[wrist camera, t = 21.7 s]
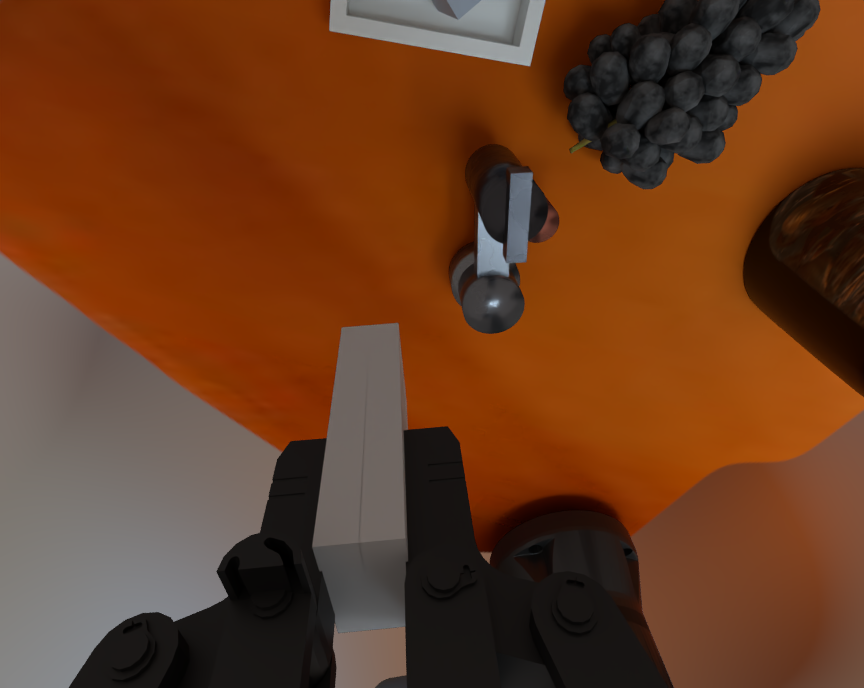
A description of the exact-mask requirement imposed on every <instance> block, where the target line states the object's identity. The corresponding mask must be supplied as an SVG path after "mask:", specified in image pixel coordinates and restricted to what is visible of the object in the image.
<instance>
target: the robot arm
mask: <svg viewBox="0 0 864 688" xmlns="http://www.w3.org/2000/svg"><path fill="white" fill-rule="evenodd" d="M217 574H218V576H219V578H220V580H221V581H222V584H223V586H224V588H225V590H226V592H227V594H228V597H227V598H225V599H224V600H223V601H221V602H219V603H217V604H215V605H213V606H211V607H209V608H207V609H204V610H202V611H199V612H197V613H195V614H192V615H190V616H187V617H185V618H182V619H180V620H178V621H175V622H173V620H172V619H171V617H168V616H166V615H164V614H161V613H159V612H155V613H142V614H139V615H137V616H134V617H132V618H130V619H127V620H125V621H123V622H122V623H121V624H119V625H118V626H116V627H115V628H114V629H113V630H111V631H110V632H108V634H107V635H106V636H105V637H104V638H103V639H102V641H101V642H100V643H99V644H98V645H97V646H96V648H95V649H94V650H93V652H92V653H91V655H90V656H89V658H88V659H87V661H86V663H85V664H84V665H83V667H82V668H81V670H80V671H79V673H78V674H77V676H76V678H75V679H74V680H73V682H72V683H71V685H70V687H69V688H335V678H336V661H335V654H334V651H333V635H334V624H336V628H337V631H338V633H345V632H355V631H366V630H376V629H387V628H397V627H405V628H406V668H407V669H406V670H407V675H406V676H400V677H394V678H389V679H386V680H384V681H382V682H381V683H379V684H378V685H377V686H376V687H375V688H674V687H673V685H672V682H671V680H670V677H669V675H668V673H667V670H666V668H665V665H664V663H663V661H662V658H661V656H660V653H659V651H658V649H657V646H656V644H655V641H654V639H653V637H652V634H651V632H650V630H649V627H648V625H647V622H646V620H645V617H644V615H643V611H642V600H641V588H640V575H639V563H638V556H637V552H636V549H635V546H634V544H633V542H632V540H631V537H630V535H629V533H628V531H627V529H626V528H625V527H624V525H622V524H621V523H620V522H619V521H618V520H616V519H614V518H612V517H610V516H608V515H605V514H602V513H598V512H593V511H583V510H571V511H561V512H555V513H550V514H546V515H543V516H539V517H537V518H534V519H531V520H529V521H527V522H525V523H523V524H521V525H519V526H517V527H516V528H514V529H513V530H511V531H510V532H508V533H507V534H506V535H505V536H504V537H503V538H502V539H501V540H500V541H499V542H498V543H497V545H496V546H495V548H494V550H493V552H492V554H491V557H490V564H489V563H488V562H487V561H486V560H485V559H484V558H483V557H482V555H481V553H480V552H479V550H478V548H477V545H476V542H475V538H474V531H473V525H472V519H471V512H470V506H469V500H468V493H467V487H466V481H465V474H464V468H463V462H462V455H461V449H460V443H459V441H458V440H457V438H456V437H455V436H454V434H453V433H452V432H451V430H450V429H449V428H448V426H447V427H435V428H424V429H412V430H408V424H407V402H406V392H405V382H404V372H403V363H402V353H401V344H400V334H399V324H398V323H392V324H379V325H367V326H355V327H342V330H341V338H340V345H339V353H338V360H337V367H336V375H335V382H334V389H333V397H332V404H331V411H330V419H329V426H328V434H327V438H324V439H312V440H301V441H291V442H290V443H289V444H288V446H287V447H286V448H285V450H284V451H283V452H282V454H281V455H280V456H279V458H278V459H277V463H276V467H275V471H274V475H273V483H272V484H271V488H270V492H269V500H268V501H267V505H266V510H265V514H264V518H263V522H262V527H261V531H260V533H258V534H254V535H251V536H249V537H247V538H246V539H244V540H242V541H240V542H239V543H237V544H236V545H235V546H234V547H233V548H232V549H231V550H230V551H229V552H228V553H227V554H226V555H225V556H224V557H223V560H222V561H221V564H220V566H219V568H218V570H217Z"/></svg>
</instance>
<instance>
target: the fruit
mask: <svg viewBox="0 0 864 688" xmlns="http://www.w3.org/2000/svg"><path fill="white" fill-rule="evenodd" d="M819 12H820V5H819V1H818V0H699V1H698V0H665V1H664V3H663V5H662V7H661V8H660V10H659V12H658V14H652V15H649V16H646V17H644V18H643V19H642V20H641V22H640V23H639V24H638V26H635V25H633V24H630V23H626V24H623V25H621V26H619V27H617V28H616V29H615V30H614V32H613V33H612V35H611V36H609V35H607V34H604V35H599V36H596V37H595V38H594V39H593V40H592V41H591V42H590V45H589V49H588V52H587V54H588V57H589V59H590V62H591V64H592V66H586V65H578V66H576V67H575V68H573V69H571V70H570V71H569V72H568V74H567V75H566V77H565V81H564V93H565V96H566V97H567V98H568V99H570V100H572V102H571V103H570V105H569V107H568V115H567V119H568V120H569V122H570V124H571V126H572V127H573V129H574V131H575V132H576V133H578V139H579V143H577V144H576V145H574V146H573V147H572V148H570V149H569V150H570V153H573V152H574V151H576V150H578V149H580V148H581V147H583V146H585V147H588V148H591V149H596V150H601V151H602V150H603V152H602V154H601V157H600V162H601V164H602V166H603V169H605V170H607V171H609V172H611V173H616V174H618V173H621V172H623V174H624V176H625V177H626V178H627V179H628V180H629V181H630V182H631V183H633V184H635V185H636V186H638V187H640V188H642V189H653V188H655V187H657V186H659V185H660V184H662V182H663V180H664V179H665V177H666V174H667V169H668V168H669V166H670V165H671V164H672V163H673V158H674V153H678V155H679V156H681V157H684V158H686V159H688V160H690V161H693V162H695V163H697V164H699V163H710V162H712V161H713V160H715V159H716V158H717V157H719V155H720V154H721V153H722V152H723V150H724V147H725V138H724V133H723V132H722V131H723V130H726V129H728V128H730V127H732V126H733V124H734V123H735V121H736V120H737V114H738V110H737V107H736V106H740V105H743V104H745V103H747V102H749V101H750V100H751V99H752V98H753V97H754V96H755V95H756V94H757V93H758V92H759V89H760V86H761V82H762V78H761V74H764V75H775V74H776V73H778V72H780V71H782V70H784V69H786V68H788V66H789V65H790V64H791V62H792V61H793V60H794V57H795V54H796V51H797V44H796V42H795V41H797V40H798V39H799V38H800V37H802V36H803V35H804V33H805V31H806V30H808V29H809V28H811V27H812V26H813V24H814V23H815V21H816V20H817V18H818V15H819ZM760 73H761V74H760ZM629 84H630V85H632V86H633V87H632V88H631V89H630V90H629Z"/></svg>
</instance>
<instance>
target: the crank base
mask: <svg viewBox="0 0 864 688" xmlns="http://www.w3.org/2000/svg"><path fill="white" fill-rule="evenodd" d="M546 199H547V198H546ZM547 203H548V216H547V220H546V222H545V224H544V226H543V228H542V229H541V231H540V232H539V233H538V234H537V235H536V236H535V237H533V238H532V239H530V240H529V241H530V242H534V243H539V242H543V241H546V240H547V239H549V238H550V237H552V236H553V235H554V233H555V232H556V230H557V228H558V225H559V216H558V213H557V211H556V210H555V209H554V207H553V206H552V205H551V203H550V202H549V201H548V199H547ZM473 263H474V242H472V243H469V244H467V245H466V246H464V247H462V248H461V249H460V250H459V251H458V252H457V253H456V254H455V256H454V257H453V259H452V261H451V263H450V267H449V278H450V283H451V288H452V292H453V295H454V297H455V299H456V301H457V302H458V303H459V304H460V305H461V301H460V297H459V293H458V282H459V279H460V277H461V275H462V273H463V272H464V271H465V270H466V269H467V268H468V267H469V266H470V265H472V264H473ZM509 268H510V269H511V270H512V272H513V274H514V276H515V279H516V281H517V283H518V286H519V284H520V275H519V271H518V269H517V266H516V264H515V263H509ZM461 306H462V305H461Z"/></svg>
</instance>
